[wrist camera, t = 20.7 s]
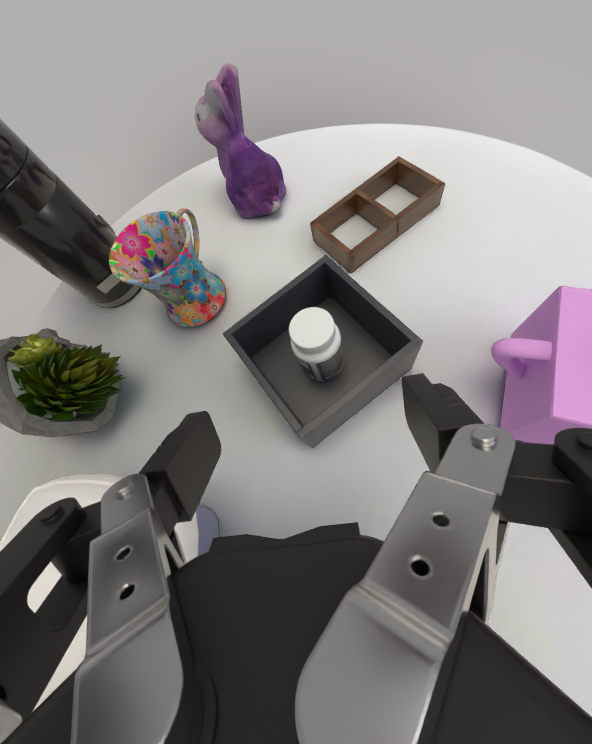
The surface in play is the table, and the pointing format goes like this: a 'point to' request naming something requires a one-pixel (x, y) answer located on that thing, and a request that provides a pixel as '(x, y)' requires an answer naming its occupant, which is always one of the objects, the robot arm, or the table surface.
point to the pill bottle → (317, 344)
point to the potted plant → (55, 385)
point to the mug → (168, 266)
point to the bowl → (86, 492)
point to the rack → (377, 212)
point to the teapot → (549, 368)
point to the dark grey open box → (359, 341)
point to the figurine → (238, 148)
